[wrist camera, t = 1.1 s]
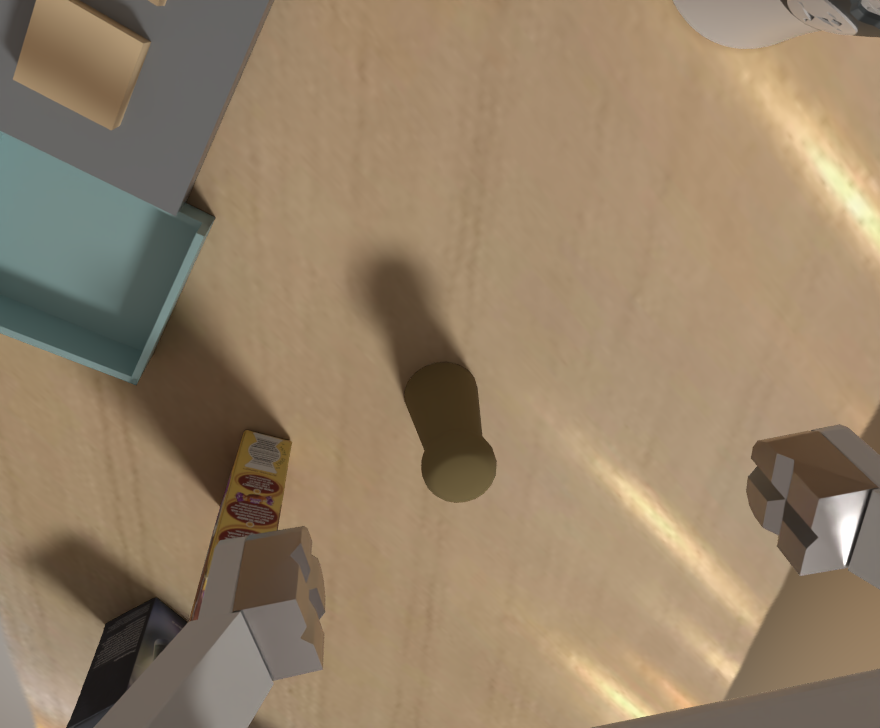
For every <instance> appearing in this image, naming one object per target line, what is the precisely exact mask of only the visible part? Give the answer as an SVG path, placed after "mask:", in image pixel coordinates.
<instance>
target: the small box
mask: <svg viewBox="0 0 880 728" xmlns="http://www.w3.org/2000/svg"><path fill="white" fill-rule="evenodd" d="M186 624H187V622H186V621H185V620H184V619H182V618H181V617H180V616H178V615H177V614H176V613H175V612H173V611H172V610H171V609H170V608H169V607H167V606H166V605H165V604H164V603H162V602H161V601H160V600H159V599H158V598H153V599H151V600H149V601H148V602H145V603H144V604H142V605H140V606H138V607H136V608H134V609H132V610H130V611H128V612H127V613H125V614H123V615H121V616H119V617H117V618H115V619H114V620H112V621H110V622H108V623H106V624H105V627H104V631H103V634H102V636H101V639H100V642H99V645H98V647H97V650H96V652H95V656H94V658H93V661H92V663H91V666H90V669H89V671H88V674H87V677H86V679H85V682H84V684H83V687H82V690H81V693H80V696H79V698H78V701H77V704H76V706H75V709H74V711H73V713H72V716H71V719H70V721H69V723H68V725H67V727H66V728H94V727H95V726H96V724H97V723H98V722H99V721H100V720H101V719H102V718H103V717H104V716H105V714H106V713H107V712H108V711H109V710H110V709H111V708H112V707H113V706H114V704H115V703H116V702H117V701H118V700H119V699H120V698H121V697H122V696H123V694H124V693H125V692H126V691H127V690H128V689H129V688H130V687H131V686H132V684H133V683H134V682H135V681H136V680H137V679H138V678H139V677H140V675H141V674H142V673H143V672H144V671H145V670H146V669H147V668H148V667H149V665H150V664H151V663H152V662H153V661H154V660H155V659H156V658H157V657H158V655H159V654H160V653H161V652H162V651H163V650H164V649H165V648H166V647H167V645H168V644H169V643H170V642H171V641H172V640H173V639H174V638H175V637H176V635H177V634H178V633H179V632H180V631H181V630H182V629H183V628H184V626H185V625H186Z"/></svg>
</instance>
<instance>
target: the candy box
mask: <svg viewBox="0 0 880 728" xmlns="http://www.w3.org/2000/svg"><path fill="white" fill-rule="evenodd" d="M291 445H292V442H291V441H289V440H285V439H281V438H277V437H273V436H269V435H264V434H260V433H256V432H252V431H249V430H245V431H244V433H243V436H242V439H241V443H240V446H239V449H238V452H237V455H236V458H235V462H234V465H233V468H232V471H231V474H230V477H229V480H228V483H227V487H226V490H225V493H224V496H223V500H222V503H221V506H220V509H219V513H218V516H217V520H216V523H215V527H214V530H213V534H212V537H211V541H210V545H209V549H208V552H207V556H206V559H205V563H204V567H203V570H202V574H201V578H200V582H199V585H198V589H197V593H196V596H195V600H194V604H193V608H192V611H191V615H190V619H189V621H193V620H198V617H199V612H200V608H201V604H202V600H203V595H204V591H205V587H206V583H207V578H208V574H209V570H210V566H211V562H212V557H213V553H214V549H215V547H216V545H217V544H218V542H219V541H220V540H225V539H232V538H238V537H245V536H248V535H252V534H258V533H265V532H271V531H277V530H278V524H279V518H280V512H281V506H282V500H283V495H284V488H285V481H286V475H287V469H288V462H289V456H290V450H291Z"/></svg>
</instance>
